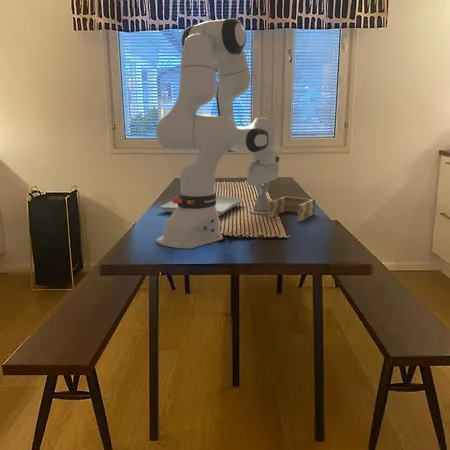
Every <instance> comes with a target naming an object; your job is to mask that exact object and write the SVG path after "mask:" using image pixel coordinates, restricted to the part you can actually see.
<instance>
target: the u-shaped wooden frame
mask: <svg viewBox="0 0 450 450" xmlns="http://www.w3.org/2000/svg"><path fill="white" fill-rule="evenodd" d="M268 203H269V214H268V218H273V217H276V216H278V215H280V214H283V213H285V212H289V213H296V214H297V215H296V216H297V220H296V221H297V222H302V221H304V220H306V219H308V218H310V217H312V216H314V215H315V208H316V199H314V198H312V199H311V198H303V197H295V196H287V195H285V196H281V197H280V198H276V199H273V200H271V201H268Z"/></svg>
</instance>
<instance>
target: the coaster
mask: <svg viewBox="0 0 450 450" xmlns="http://www.w3.org/2000/svg"><path fill="white" fill-rule="evenodd" d="M249 211H250V213H251V214H254V215H269V211H254V210H253V208H251V209H250V210H249Z"/></svg>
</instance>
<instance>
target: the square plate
mask: <svg viewBox="0 0 450 450" xmlns="http://www.w3.org/2000/svg"><path fill="white" fill-rule="evenodd" d="M244 200H245V198H241V197H233V196H223V195H216V205H215V208H216V211H217V213H218V216H223V215H224V214H225V213H227V212H229V211H230V210H231V209H233V208H235V207H237V206H239V205H240V204H241V203H242V202H243V201H244ZM177 207H178V205H177V203H173V202H172V200H170V201H169V202H166V203H165V204H162V205H161V206H159V208H160V209H161V210H163V211H164V212H168V213H171V214H172V213H173V212H174V211H175V210H176V208H177Z"/></svg>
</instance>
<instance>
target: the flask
mask: <svg viewBox="0 0 450 450" xmlns="http://www.w3.org/2000/svg"><path fill="white" fill-rule="evenodd" d="M261 187H262V190H263V194H261V195H259V194H257V198H256V199H255V200H256V201H255V203H254V205H253V208H252V209H253V210H254V211H269V201H268V198H267V193H266V192H265V188H266V186H265V185H264V184H262V186H261Z"/></svg>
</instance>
